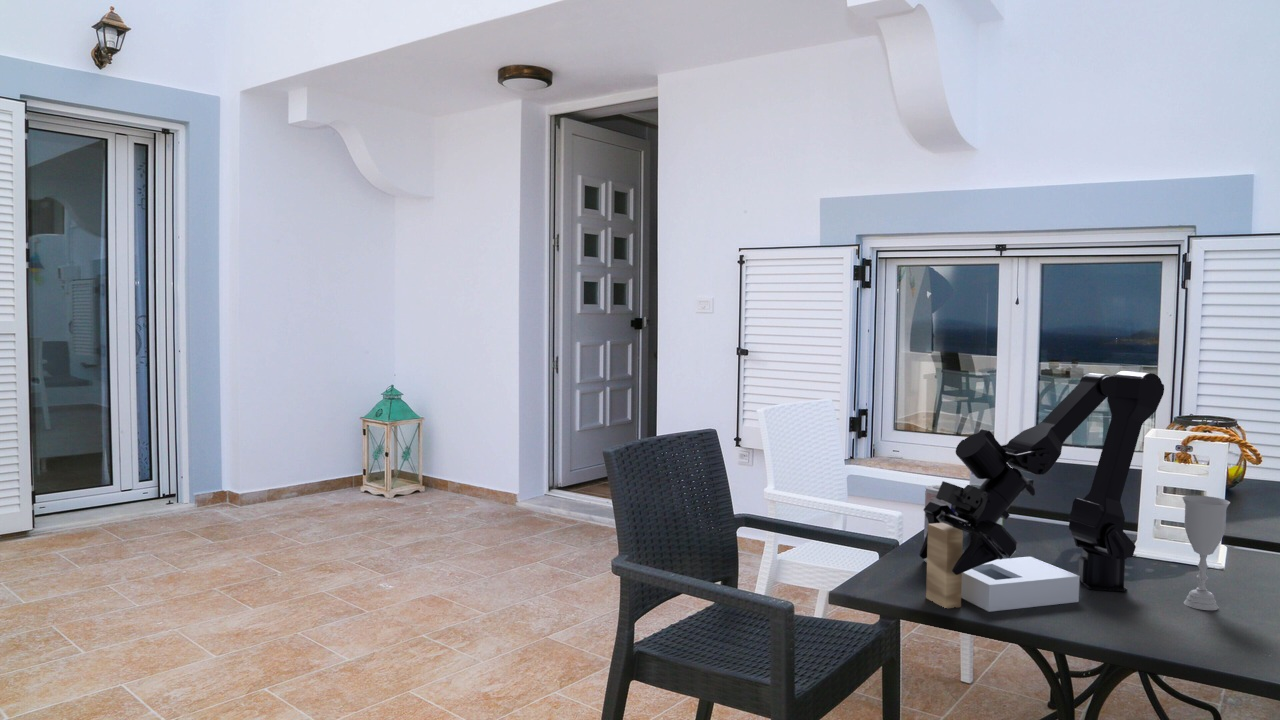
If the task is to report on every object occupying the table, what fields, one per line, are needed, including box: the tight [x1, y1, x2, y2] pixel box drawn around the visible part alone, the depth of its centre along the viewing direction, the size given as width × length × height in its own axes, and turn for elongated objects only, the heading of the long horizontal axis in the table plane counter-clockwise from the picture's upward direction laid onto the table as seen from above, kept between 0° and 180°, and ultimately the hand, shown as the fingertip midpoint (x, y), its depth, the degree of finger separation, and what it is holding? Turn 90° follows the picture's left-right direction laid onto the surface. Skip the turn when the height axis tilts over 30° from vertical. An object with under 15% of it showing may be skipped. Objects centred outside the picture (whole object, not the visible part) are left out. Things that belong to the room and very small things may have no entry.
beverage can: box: [923, 485, 956, 564], centre depth 173 cm, size 6×6×15 cm
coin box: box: [961, 556, 1080, 613], centre depth 154 cm, size 18×12×4 cm, turn 106°
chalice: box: [1181, 495, 1231, 611], centre depth 149 cm, size 7×7×18 cm
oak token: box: [925, 523, 964, 609], centre depth 150 cm, size 3×6×13 cm, turn 16°
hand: (937, 565), depth 150 cm, fingers open, 9 cm apart
